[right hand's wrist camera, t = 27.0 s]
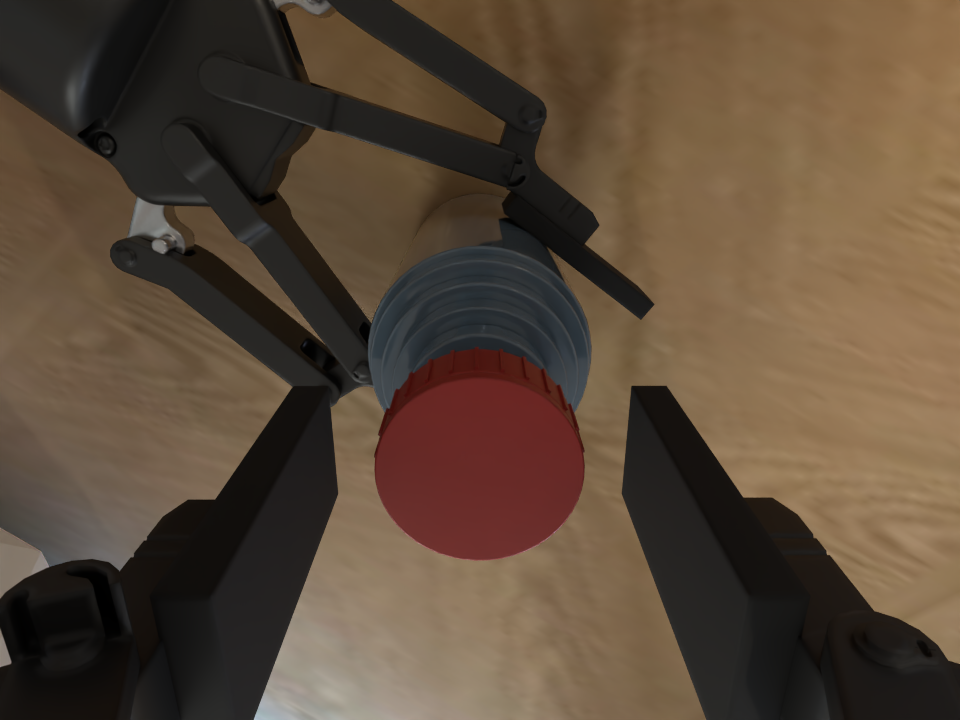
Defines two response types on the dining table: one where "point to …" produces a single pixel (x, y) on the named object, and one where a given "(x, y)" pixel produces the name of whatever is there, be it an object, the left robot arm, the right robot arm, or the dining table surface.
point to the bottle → (478, 300)
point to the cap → (479, 455)
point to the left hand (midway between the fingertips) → (577, 372)
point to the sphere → (16, 571)
